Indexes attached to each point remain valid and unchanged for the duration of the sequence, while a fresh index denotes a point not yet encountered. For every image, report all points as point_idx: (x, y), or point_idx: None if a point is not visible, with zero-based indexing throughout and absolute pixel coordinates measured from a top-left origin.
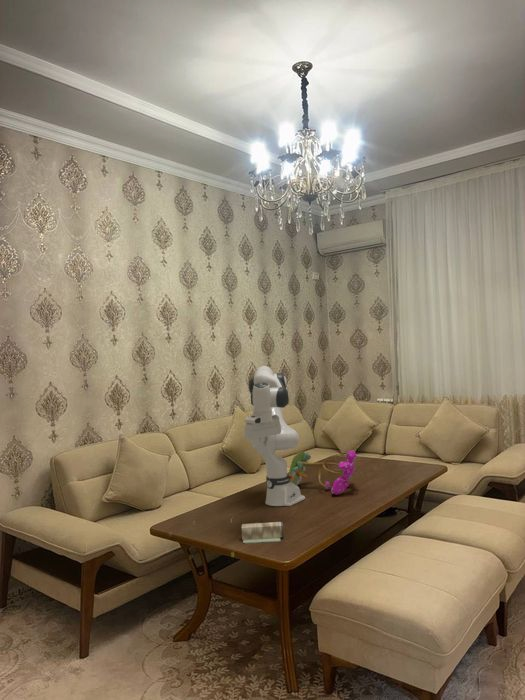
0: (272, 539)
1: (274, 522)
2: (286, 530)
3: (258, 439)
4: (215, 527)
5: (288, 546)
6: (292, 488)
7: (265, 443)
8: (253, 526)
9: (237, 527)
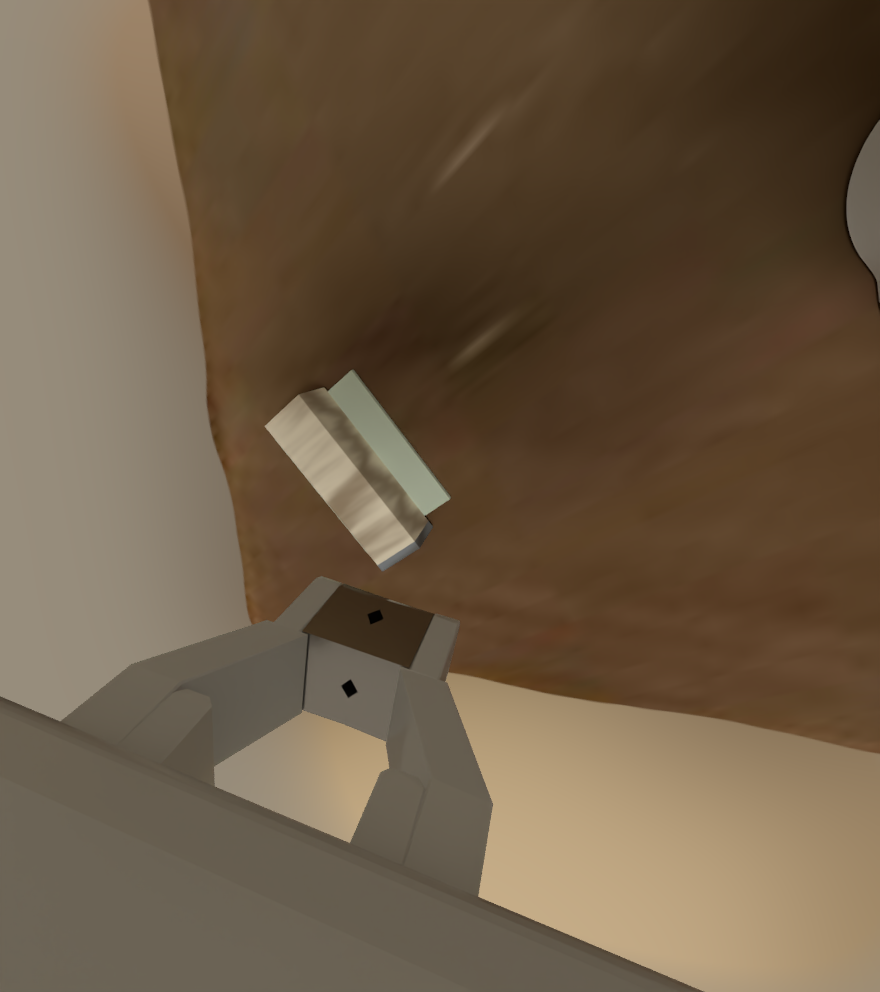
0: None
1: (394, 521)
2: (477, 516)
3: (126, 676)
4: (336, 160)
5: None
6: None
7: (362, 712)
8: (307, 463)
9: (397, 278)
